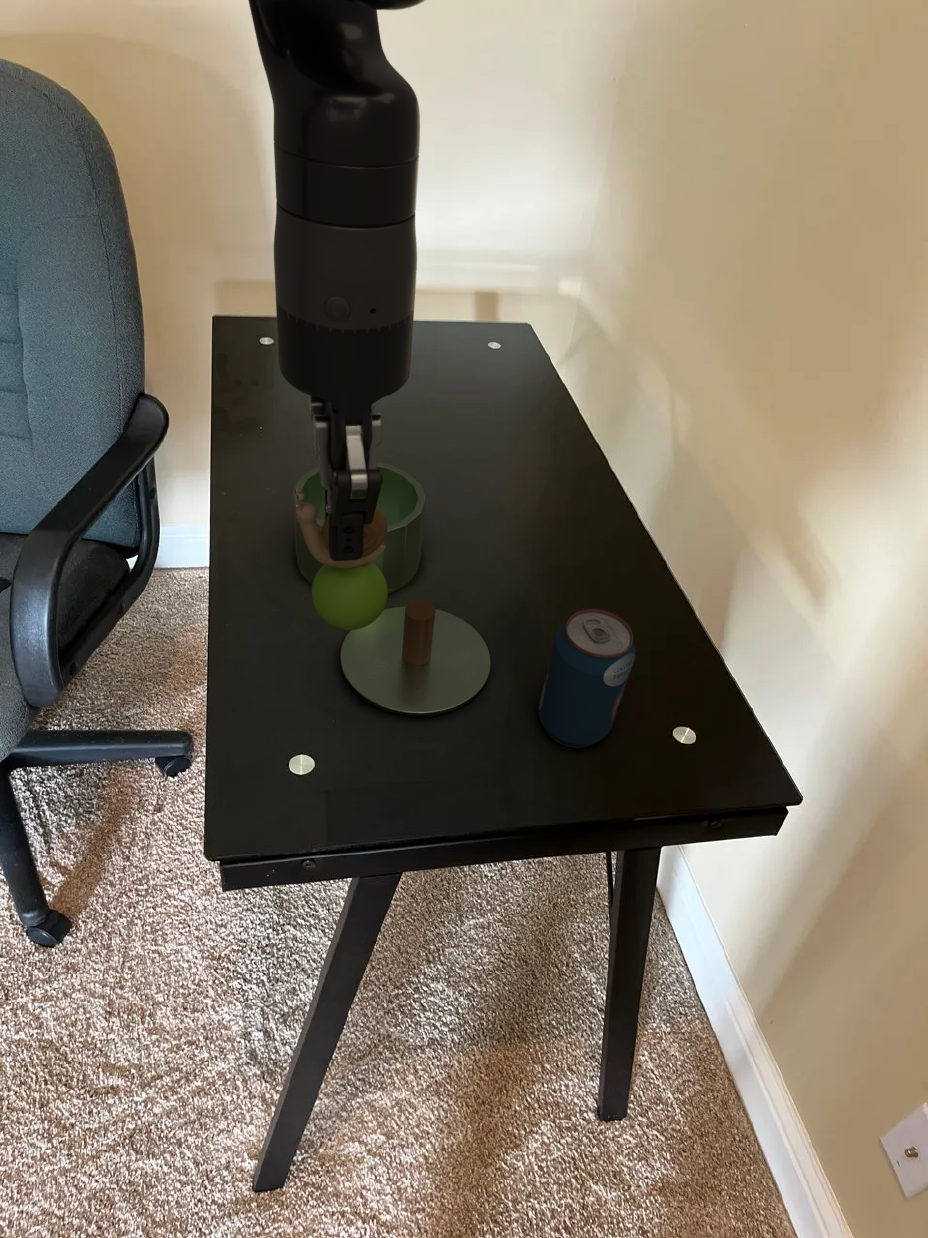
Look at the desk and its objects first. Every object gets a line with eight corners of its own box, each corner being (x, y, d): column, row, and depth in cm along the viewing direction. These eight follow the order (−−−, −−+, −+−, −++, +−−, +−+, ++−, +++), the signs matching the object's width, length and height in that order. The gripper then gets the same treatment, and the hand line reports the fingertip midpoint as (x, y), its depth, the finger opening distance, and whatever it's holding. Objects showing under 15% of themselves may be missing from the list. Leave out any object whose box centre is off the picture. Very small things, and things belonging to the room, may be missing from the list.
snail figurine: (291, 605, 62) (284, 468, 54) (373, 591, 64) (378, 456, 56) (309, 654, 58) (305, 515, 50) (395, 637, 61) (405, 500, 53)
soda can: (621, 746, 76) (654, 654, 68) (551, 759, 74) (577, 666, 66) (591, 691, 81) (619, 599, 73) (525, 702, 79) (546, 609, 71)
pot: (303, 603, 86) (300, 537, 80) (291, 526, 95) (288, 462, 90) (430, 592, 89) (437, 529, 83) (406, 518, 99) (410, 457, 93)
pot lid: (352, 729, 74) (353, 675, 69) (331, 620, 84) (330, 566, 80) (506, 710, 78) (517, 657, 73) (469, 608, 88) (476, 555, 83)
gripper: (439, 349, 41) (416, 609, 53) (392, 250, 51) (381, 488, 62) (285, 350, 39) (297, 618, 51) (267, 247, 49) (280, 492, 60)
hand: (343, 545), depth 57 cm, fingers closed on snail figurine
